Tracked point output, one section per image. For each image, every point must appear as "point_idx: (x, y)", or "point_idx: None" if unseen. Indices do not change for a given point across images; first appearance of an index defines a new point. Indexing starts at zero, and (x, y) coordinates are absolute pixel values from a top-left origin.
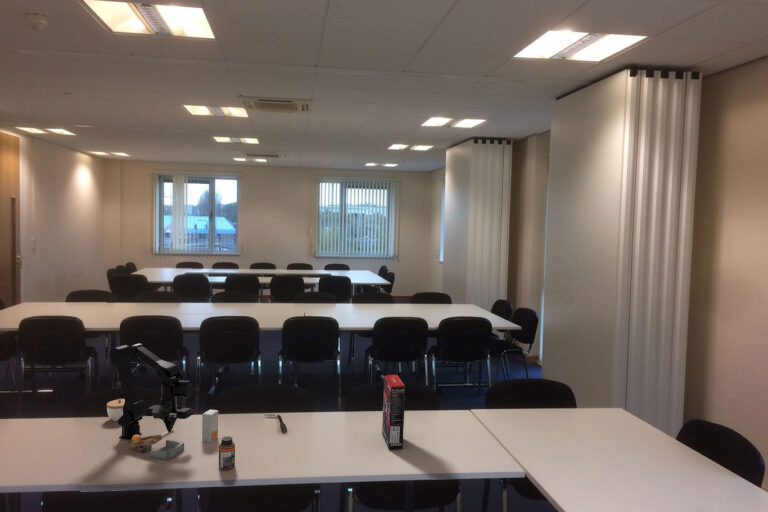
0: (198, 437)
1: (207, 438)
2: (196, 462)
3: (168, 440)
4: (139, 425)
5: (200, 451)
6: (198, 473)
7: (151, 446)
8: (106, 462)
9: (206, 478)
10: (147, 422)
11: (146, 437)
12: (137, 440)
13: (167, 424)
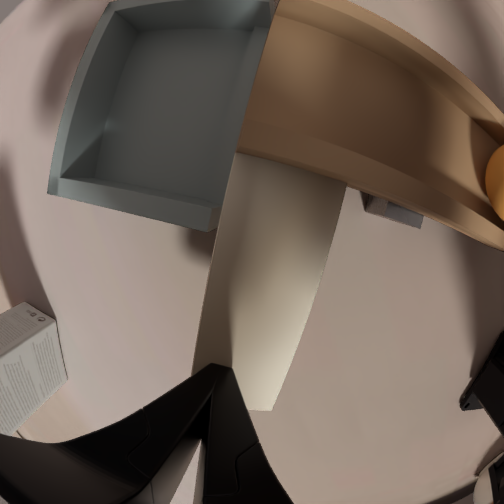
0: (102, 379)
1: (21, 314)
2: (24, 69)
3: (184, 221)
4: (499, 425)
5: (20, 182)
6: (28, 14)
7: (368, 209)
8: (486, 27)
9: (17, 10)
10: (426, 483)
11: (457, 203)
12: (499, 149)
13: (206, 442)
